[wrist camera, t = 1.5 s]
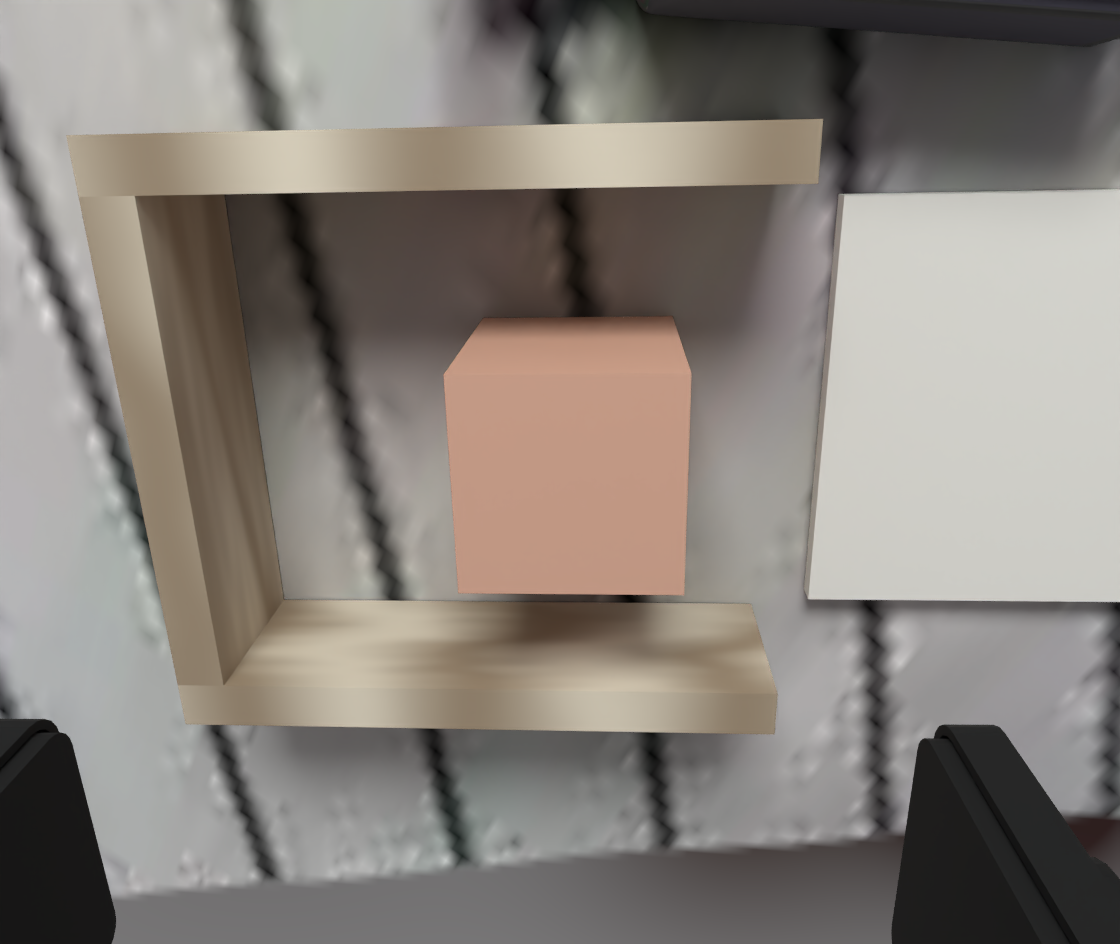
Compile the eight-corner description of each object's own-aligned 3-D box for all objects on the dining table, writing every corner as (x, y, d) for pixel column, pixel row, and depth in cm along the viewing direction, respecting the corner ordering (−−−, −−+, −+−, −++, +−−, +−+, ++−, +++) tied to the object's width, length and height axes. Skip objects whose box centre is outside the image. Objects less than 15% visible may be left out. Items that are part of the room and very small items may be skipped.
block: (672, 315, 23) (691, 373, 18) (667, 492, 25) (684, 595, 20) (483, 317, 24) (443, 374, 18) (492, 491, 25) (458, 593, 20)
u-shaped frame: (781, 121, 21) (823, 119, 17) (748, 639, 27) (774, 734, 22) (168, 135, 22) (66, 135, 18) (250, 633, 27) (185, 724, 23)
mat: (1217, 187, 21) (1233, 189, 21) (1123, 591, 25) (1135, 602, 25) (838, 194, 22) (844, 195, 21) (804, 589, 26) (808, 599, 25)
